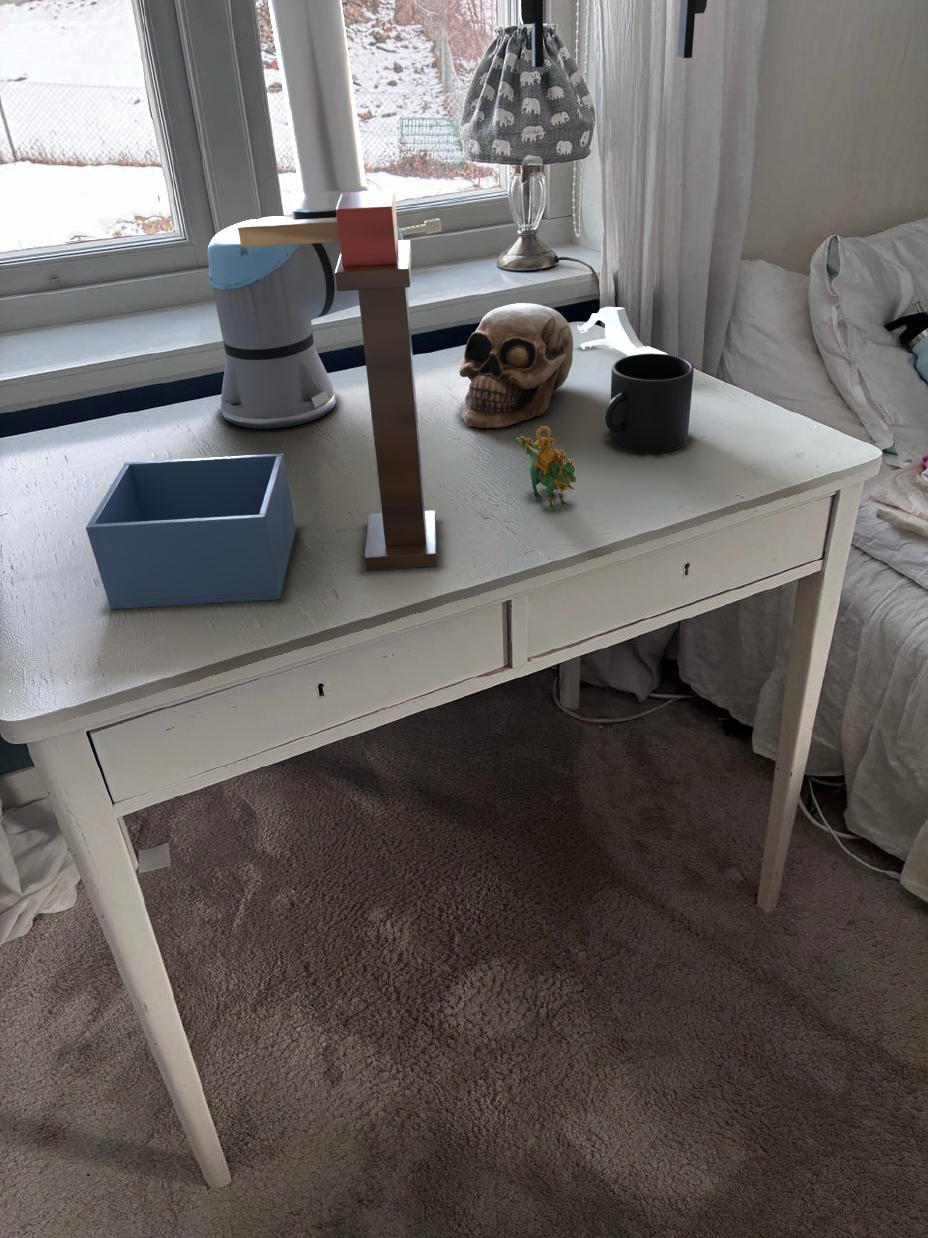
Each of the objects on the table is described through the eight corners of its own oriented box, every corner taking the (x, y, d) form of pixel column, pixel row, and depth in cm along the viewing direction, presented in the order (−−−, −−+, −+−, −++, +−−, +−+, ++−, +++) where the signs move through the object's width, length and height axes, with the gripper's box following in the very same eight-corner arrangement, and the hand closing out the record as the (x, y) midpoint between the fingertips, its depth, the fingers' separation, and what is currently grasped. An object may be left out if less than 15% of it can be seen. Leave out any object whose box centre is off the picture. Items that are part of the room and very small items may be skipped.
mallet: (251, 252, 84) (242, 198, 82) (398, 244, 84) (394, 189, 82) (238, 273, 78) (228, 215, 76) (396, 264, 78) (391, 205, 76)
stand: (370, 524, 101) (337, 243, 85) (435, 520, 101) (415, 239, 85) (365, 573, 93) (328, 273, 77) (437, 569, 93) (414, 268, 77)
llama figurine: (589, 392, 146) (664, 378, 130) (573, 316, 143) (648, 293, 127) (599, 389, 147) (675, 375, 131) (583, 314, 144) (659, 291, 128)
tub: (145, 538, 101) (125, 462, 96) (295, 529, 101) (283, 452, 96) (110, 609, 90) (85, 527, 85) (279, 599, 90) (264, 516, 85)
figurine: (561, 522, 100) (562, 450, 95) (506, 479, 109) (504, 411, 104) (586, 515, 101) (588, 443, 96) (529, 473, 110) (528, 405, 105)
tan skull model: (464, 430, 120) (462, 320, 114) (454, 394, 136) (452, 296, 129) (587, 425, 121) (591, 316, 115) (563, 390, 137) (566, 293, 130)
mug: (577, 443, 116) (578, 371, 111) (647, 417, 122) (651, 347, 117) (632, 468, 110) (637, 393, 104) (704, 439, 115) (711, 366, 110)
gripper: (467, -246, 73) (478, 73, 85) (791, -265, 73) (757, 55, 85) (462, -228, 79) (474, 66, 91) (761, -246, 79) (734, 50, 91)
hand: (611, 61), depth 88 cm, fingers open, 13 cm apart
